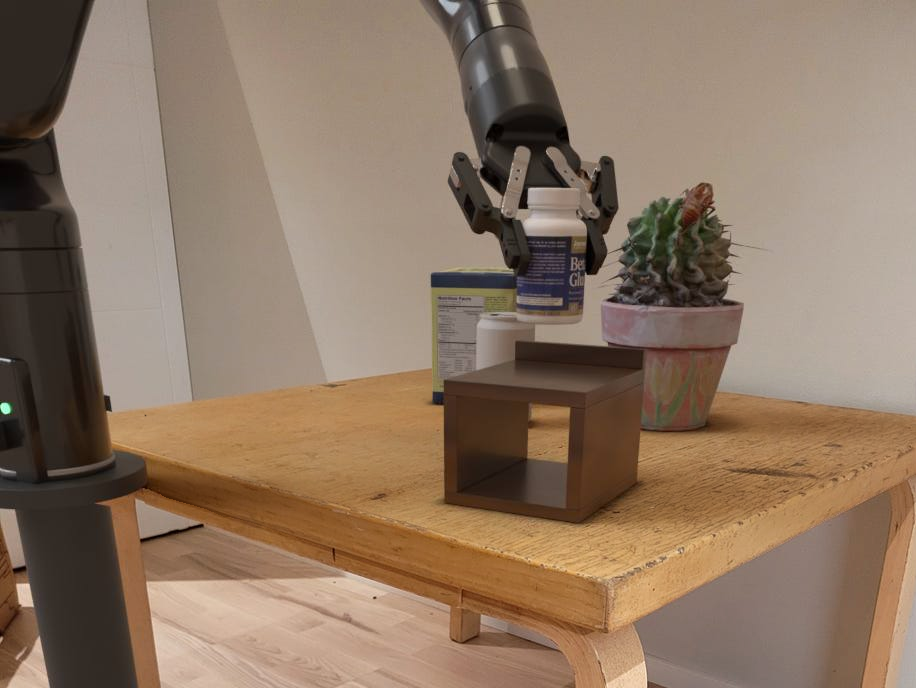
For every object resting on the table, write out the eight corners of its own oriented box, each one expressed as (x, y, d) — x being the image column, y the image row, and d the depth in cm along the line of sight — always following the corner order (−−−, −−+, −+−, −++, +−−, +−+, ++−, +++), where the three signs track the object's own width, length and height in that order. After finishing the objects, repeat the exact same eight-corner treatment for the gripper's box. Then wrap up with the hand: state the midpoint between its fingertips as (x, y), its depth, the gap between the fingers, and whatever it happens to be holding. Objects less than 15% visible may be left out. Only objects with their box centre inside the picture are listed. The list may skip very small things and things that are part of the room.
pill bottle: (580, 326, 74) (586, 187, 70) (511, 325, 75) (514, 187, 71) (585, 319, 79) (591, 188, 75) (520, 317, 80) (523, 188, 76)
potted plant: (656, 400, 124) (673, 187, 113) (775, 427, 109) (807, 184, 98) (544, 414, 114) (552, 183, 104) (657, 446, 100) (679, 180, 89)
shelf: (578, 523, 74) (586, 370, 70) (444, 502, 79) (443, 358, 75) (636, 482, 86) (646, 348, 81) (515, 467, 91) (518, 339, 86)
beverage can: (490, 415, 114) (491, 309, 109) (540, 421, 111) (543, 312, 106) (466, 425, 108) (466, 314, 103) (517, 431, 106) (520, 317, 101)
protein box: (534, 388, 132) (538, 267, 126) (512, 408, 118) (515, 273, 112) (460, 385, 134) (460, 265, 128) (430, 404, 120) (428, 271, 114)
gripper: (436, 59, 74) (482, 231, 68) (606, 68, 78) (663, 231, 72) (420, 140, 81) (461, 303, 75) (577, 145, 85) (627, 299, 79)
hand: (560, 267), depth 74 cm, fingers closed on pill bottle, 5 cm apart
